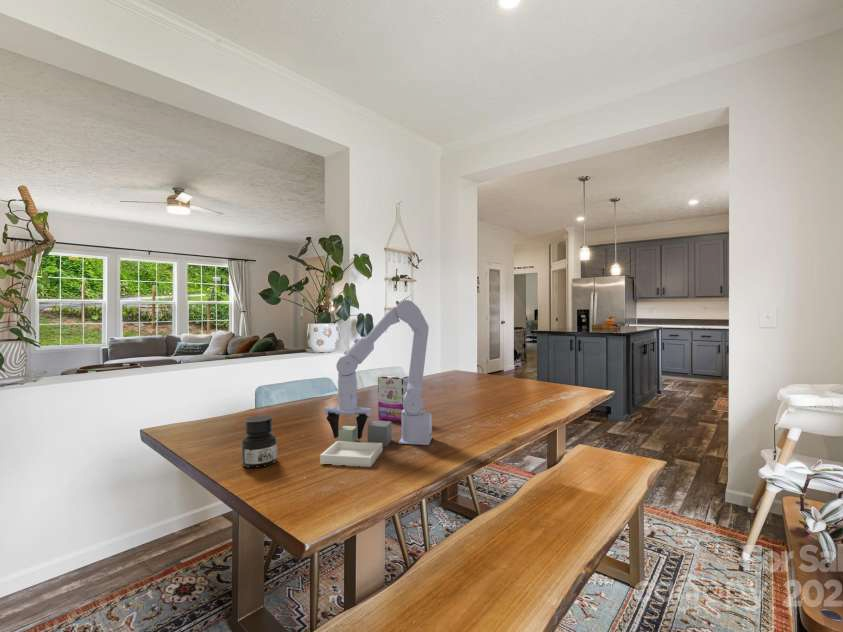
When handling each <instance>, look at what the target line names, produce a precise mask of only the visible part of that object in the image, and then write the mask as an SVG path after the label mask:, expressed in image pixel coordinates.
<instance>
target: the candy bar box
mask: <svg viewBox="0 0 843 632" xmlns="http://www.w3.org/2000/svg"><path fill="white" fill-rule="evenodd" d="M408 378H409V375H408V376H407V375H392V374H383V375H379V376H377V394H378V395H377V396H378V398H377V400H378V402H377V403H378V405H377V406H378V409H377V411H378V412H377V413H378V414H377V415H378V420H380V421H391V422H396V423H402V410H403V409H404V408H403V395H404V393H405V392H406V390H407V385H408Z"/></svg>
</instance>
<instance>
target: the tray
mask: <svg viewBox="0 0 843 632" xmlns="http://www.w3.org/2000/svg"><path fill="white" fill-rule="evenodd" d="M383 447H384V446H383V443H370V442H368V441H367V442H366V441H356V442H348V441H339V440H336V441H334V443H332V444H331V445H330V446H329V447H328V448H327V449H326V450H324V451H323V452H322V453H321V454H320V455H319V462H320V463H319V465H323V464H332V465H331V466H341V465H346V466H345V467H359V466H360V467H363V468H371V467H372V466H373V465H374V464H375V462H376V461H377V460H378V458H379V457H380V456H381V455H382V453H383V452H384V451H383V450H384V449H383Z"/></svg>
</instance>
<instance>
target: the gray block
mask: <svg viewBox="0 0 843 632" xmlns="http://www.w3.org/2000/svg"><path fill="white" fill-rule="evenodd" d="M392 427H393V426H392V421H388V420H373V421H371V422H370V423H369V424H368V425H367V442H370V443H383V447H388V446H389V444H390V443H391V442H390V441H392V437H393V436H392V434H393V433H392Z"/></svg>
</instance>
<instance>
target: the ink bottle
mask: <svg viewBox="0 0 843 632" xmlns="http://www.w3.org/2000/svg"><path fill="white" fill-rule="evenodd" d="M244 423H245V434H246V435H245V436H244V438H242V440H241V464H242V465H243V466H244V465H245V466H249V467H256V466H263V467H265V466H264V465H267V466H269V465H268V464H270V465H272V464H271V463H273V462H274V461H275V462H277V458H278V441H277V440H278V439H277V436H276V434H274V433H273V416H271V415H255V416H251V417H248V418H245V422H244ZM275 462H274V463H275ZM274 463H273V464H274ZM245 466H244V467H245ZM249 467H248V468H249Z"/></svg>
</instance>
